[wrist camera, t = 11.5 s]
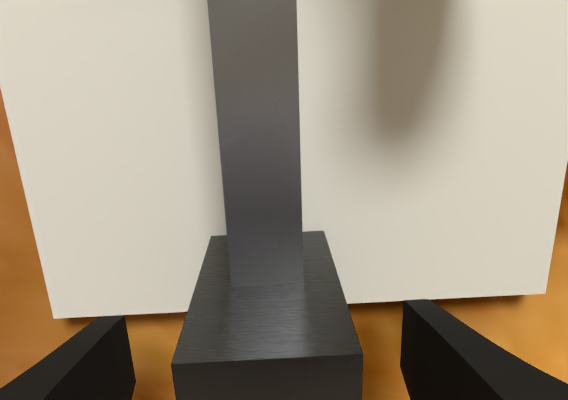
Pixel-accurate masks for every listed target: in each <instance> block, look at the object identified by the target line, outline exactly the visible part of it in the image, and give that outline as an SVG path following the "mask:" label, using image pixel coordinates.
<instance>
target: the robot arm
mask: <svg viewBox="0 0 568 400" xmlns="http://www.w3.org/2000/svg"><path fill="white" fill-rule="evenodd" d="M400 367H401V371H402V374H403V377H404V381H405V384H406V387H407V390H408V393H409V396H410V399H411V400H568V384H567V383H565V382H563V381H561V380H559V379H557V378H555V377H553V376H551V375H549V374H547V373H545V372H543V371H541V370H539V369H537V368H535V367H534V366H532V365H530V364H528V363H526V362H525V361H523V360H521V359H520V358H518V357H516V356H514V355H513V354H511V353H509V352H508V351H506V350H504V349H503V348H501V347H499V346H498V345H496V344H495V343H493V342H491V341H490V340H488V339H487V338H485V337H484V336H482V335H481V334H479V333H478V332H476V331H475V330H473V329H472V328H470V327H469V326H467V325H466V324H464V323H463V322H461V321H460V320H458V319H457V318H455V317H454V316H452V315H451V314H450V313H448V312H447V311H445V310H444V309H442V308H441V307H439V306H438V305H436V304H435V303H433V302H431V301H430V300H428V299H416V300H404V304H403V322H402V341H401V359H400ZM135 383H136V379H135V374H134V368H133V362H132V356H131V350H130V345H129V339H128V333H127V327H126V321H125V315H123V316H104V317H99V318H98V319H96V320H95V321H93V322H92V323H90V324H89V325H88V326H86V327H85V328H83V329H82V330H81V331H79V332H78V333H77V334H75V335H74V336H73V337H71V338H70V339H69V340H68V341H66V342H65V343H64V344H62V345H61V346H60V347H58V348H57V349H56V350H54V351H53V352H52V353H50V354H49V355H48V356H46V357H45V358H44V359H42V360H41V361H39V362H38V363H37V364H35V365H34V366H33V367H31V368H30V369H28V370H27V371H25V372H24V373H22V374H21V375H20V376H18V377H17V378H15V379H14V380H12V381H11V382H9V383H8V384H7V385H5V386H4V387H2V388H1V389H0V400H131V399H132V395H133V391H134V387H135Z"/></svg>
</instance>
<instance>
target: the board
mask: <svg viewBox="0 0 568 400" xmlns="http://www.w3.org/2000/svg"><path fill="white" fill-rule="evenodd" d="M297 37H298V76H299V115H300V154H301V193H302V232H305V231H324V233H325V236H326V239H327V242H328V245H329V248H330V252H331V255H332V258H333V261H334V264H335V267H336V270H337V274H338V277H339V280H340V283H341V286H342V289H343V293H344V296H345V299H346V302H347V304H351V303H370V302H390V301H404V300H416V299H428V300H429V299H449V298H469V297H488V296H508V295H528V294H545V292H546V286H547V280H548V274H549V268H550V262H551V256H552V250H553V244H554V238H555V232H556V226H557V220H558V214H559V208H560V202H561V196H562V190H563V184H564V178H565V172H566V167H567V161H568V0H297ZM0 88H1V92H2V96H3V101H4V105H5V109H6V114H7V118H8V122H9V127H10V131H11V135H12V140H13V144H14V148H15V153H16V157H17V161H18V166H19V170H20V174H21V179H22V183H23V187H24V192H25V196H26V200H27V205H28V209H29V213H30V218H31V222H32V226H33V231H34V235H35V239H36V244H37V248H38V252H39V257H40V261H41V265H42V270H43V274H44V278H45V283H46V287H47V291H48V296H49V300H50V304H51V309H52V313H53V317H54V319H55V318H75V317H95V316H114V315H134V314H154V313H173V312H187V311H188V308H189V305H190V302H191V299H192V295H193V292H194V289H195V286H196V283H197V279H198V276H199V273H200V270H201V267H202V263H203V260H204V257H205V254H206V250H207V247H208V244H209V241H210V238H211V236H220V235H227V231H226V220H225V208H224V196H223V184H222V172H221V160H220V148H219V136H218V124H217V112H216V100H215V88H214V76H213V64H212V52H211V40H210V28H209V16H208V4H207V0H0Z"/></svg>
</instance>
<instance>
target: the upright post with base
mask: <svg viewBox="0 0 568 400" xmlns="http://www.w3.org/2000/svg"><path fill="white" fill-rule="evenodd" d="M207 4H208V16H209V28H210V40H211V52H212V64H213V76H214V88H215V100H216V112H217V124H218V136H219V148H220V160H221V172H222V184H223V196H224V208H225V220H226V231H227V235H220V236H211V238H210V241H209V244H208V247H207V250H206V254H205V257H204V260H203V263H202V267H201V270H200V273H199V276H198V279H197V283H196V286H195V289H194V292H193V295H192V299H191V302H190V305H189V308H188V311H187V315H186V318H185V321H184V324H183V327H182V331H181V334H180V337H179V340H178V343H177V347H176V350H175V353H174V356H173V359H172V363H171V368H172V375H173V382H174V389H175V396H176V400H362V371H363V353H362V349H361V346H360V343H359V340H358V337H357V334H356V331H355V327H354V324H353V321H352V318H351V315H350V312H349V308H348V305H347V302H346V299H345V296H344V293H343V289H342V286H341V283H340V280H339V277H338V274H337V270H336V267H335V264H334V261H333V258H332V255H331V252H330V248H329V245H328V242H327V239H326V236H325V233H324V231H305V232H302V193H301V154H300V115H299V76H298V37H297V0H207Z"/></svg>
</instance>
